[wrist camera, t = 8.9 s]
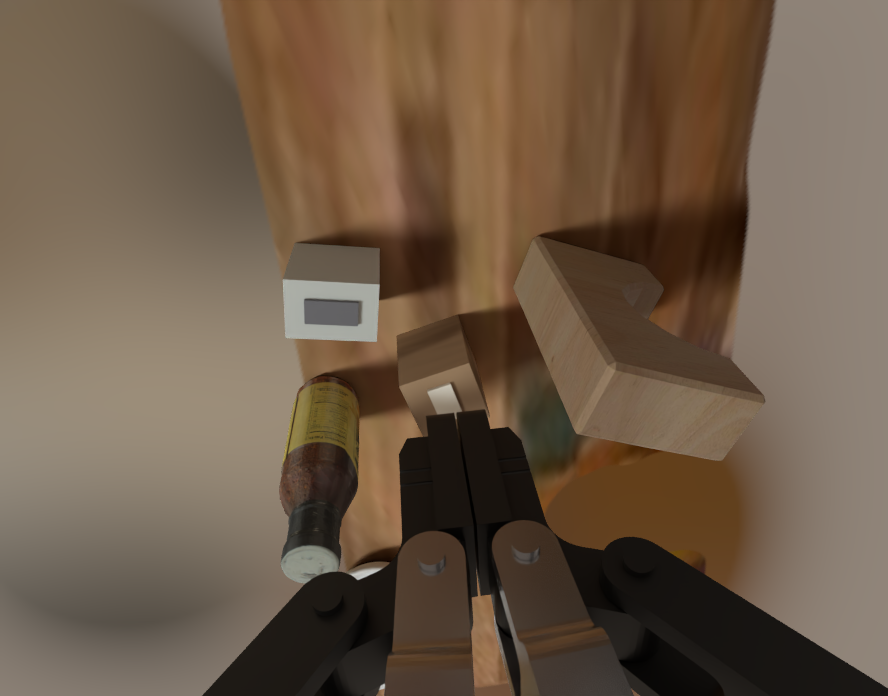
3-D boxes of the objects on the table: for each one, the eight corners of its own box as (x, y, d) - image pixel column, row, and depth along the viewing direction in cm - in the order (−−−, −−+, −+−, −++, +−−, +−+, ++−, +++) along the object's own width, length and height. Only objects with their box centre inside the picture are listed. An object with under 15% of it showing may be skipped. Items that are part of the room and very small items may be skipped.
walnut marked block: (396, 335, 54) (399, 388, 47) (457, 314, 53) (469, 365, 46) (419, 384, 57) (424, 440, 50) (476, 364, 56) (490, 419, 49)
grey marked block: (294, 242, 48) (282, 281, 42) (379, 247, 49) (379, 286, 43) (296, 296, 51) (285, 340, 44) (377, 300, 52) (376, 343, 45)
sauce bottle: (336, 432, 59) (318, 610, 42) (282, 403, 56) (241, 580, 40) (374, 390, 57) (372, 561, 40) (320, 358, 54) (294, 527, 37)
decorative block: (646, 264, 52) (773, 400, 35) (617, 317, 55) (721, 467, 38) (534, 231, 49) (614, 361, 32) (510, 288, 52) (571, 436, 35)
